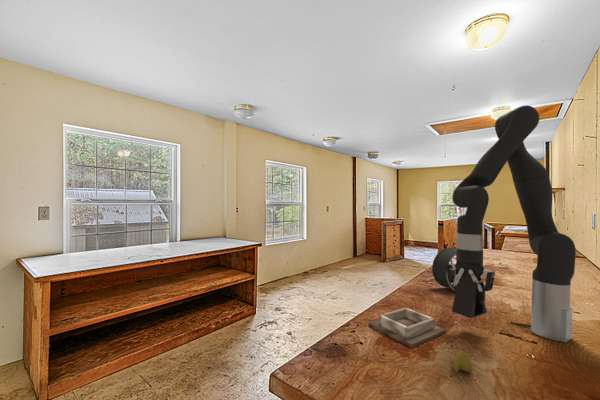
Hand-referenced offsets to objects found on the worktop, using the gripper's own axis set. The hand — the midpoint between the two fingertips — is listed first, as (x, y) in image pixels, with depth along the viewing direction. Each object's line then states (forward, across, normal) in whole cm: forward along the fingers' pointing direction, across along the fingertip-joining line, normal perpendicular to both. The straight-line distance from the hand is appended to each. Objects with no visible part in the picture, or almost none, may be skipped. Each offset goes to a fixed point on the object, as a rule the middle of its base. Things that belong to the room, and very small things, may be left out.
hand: (469, 299), depth 89 cm
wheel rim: (+11, +25, -42) cm, 50 cm away
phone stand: (+4, 0, 0) cm, 4 cm away
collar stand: (+10, +12, +16) cm, 22 cm away
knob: (+11, -9, +24) cm, 28 cm away
